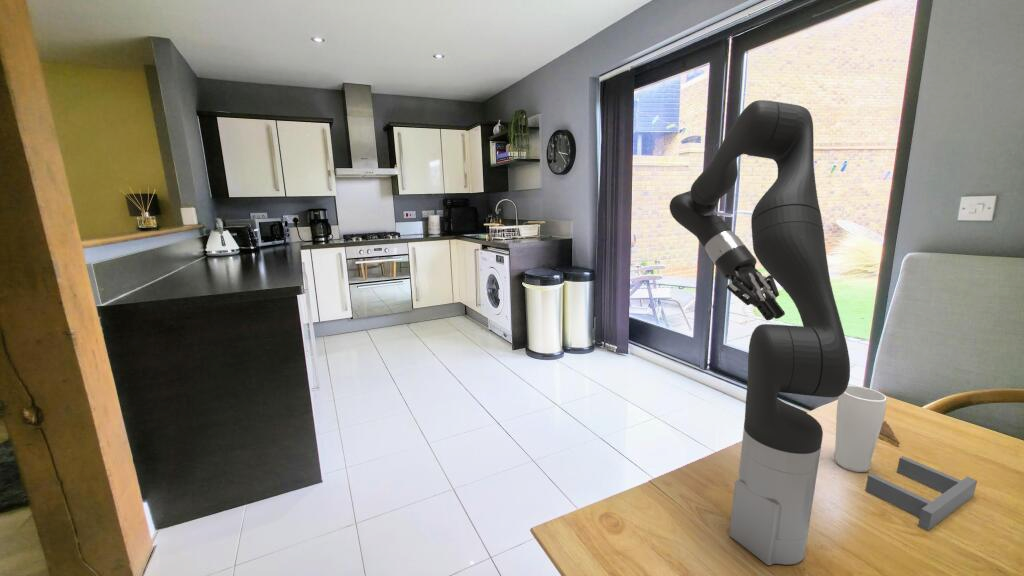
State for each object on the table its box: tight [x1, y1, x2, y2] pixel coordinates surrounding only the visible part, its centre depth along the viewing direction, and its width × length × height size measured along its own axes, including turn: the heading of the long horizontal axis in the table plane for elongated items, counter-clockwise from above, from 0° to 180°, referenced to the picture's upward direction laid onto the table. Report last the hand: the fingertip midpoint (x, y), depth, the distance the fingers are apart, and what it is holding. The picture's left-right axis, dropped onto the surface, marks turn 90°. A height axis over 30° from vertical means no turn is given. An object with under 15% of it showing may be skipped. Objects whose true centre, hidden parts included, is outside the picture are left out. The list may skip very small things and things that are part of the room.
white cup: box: [833, 384, 888, 473], centre depth 77 cm, size 7×7×15 cm
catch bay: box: [864, 455, 978, 531], centre depth 70 cm, size 17×9×3 cm, turn 116°
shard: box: [878, 420, 901, 447], centre depth 90 cm, size 11×8×2 cm
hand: (776, 317), depth 87 cm, fingers open, 2 cm apart
